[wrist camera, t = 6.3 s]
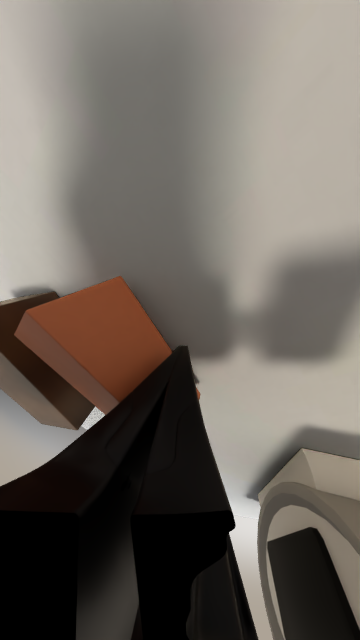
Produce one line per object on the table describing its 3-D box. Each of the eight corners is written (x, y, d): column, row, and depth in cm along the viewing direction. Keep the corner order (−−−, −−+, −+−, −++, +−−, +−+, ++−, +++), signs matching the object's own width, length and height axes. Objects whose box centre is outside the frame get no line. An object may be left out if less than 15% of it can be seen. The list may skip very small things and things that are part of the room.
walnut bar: (111, 384, 14) (77, 430, 10) (81, 383, 15) (41, 424, 11) (55, 291, 9) (-36, 314, 6) (18, 297, 10) (-79, 320, 7)
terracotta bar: (200, 393, 10) (182, 463, 7) (163, 390, 12) (137, 443, 9) (121, 275, 7) (24, 310, 4) (90, 299, 9) (12, 334, 6)
